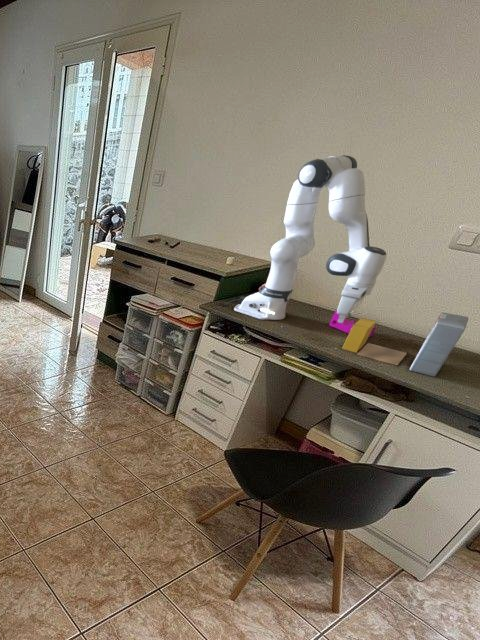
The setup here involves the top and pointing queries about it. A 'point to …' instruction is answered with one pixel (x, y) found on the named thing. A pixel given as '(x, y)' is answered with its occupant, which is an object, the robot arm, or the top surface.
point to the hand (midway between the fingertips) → (344, 319)
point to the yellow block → (358, 335)
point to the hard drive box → (439, 343)
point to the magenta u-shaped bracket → (344, 324)
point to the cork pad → (382, 354)
